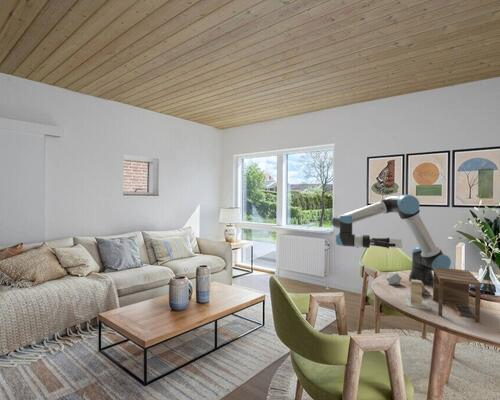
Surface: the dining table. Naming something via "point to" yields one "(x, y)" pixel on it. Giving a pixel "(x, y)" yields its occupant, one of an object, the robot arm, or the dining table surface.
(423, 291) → the ceramic mug
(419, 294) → the maple block
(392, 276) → the grey rock
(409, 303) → the pad
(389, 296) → the dining table surface
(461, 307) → the small wooden table
